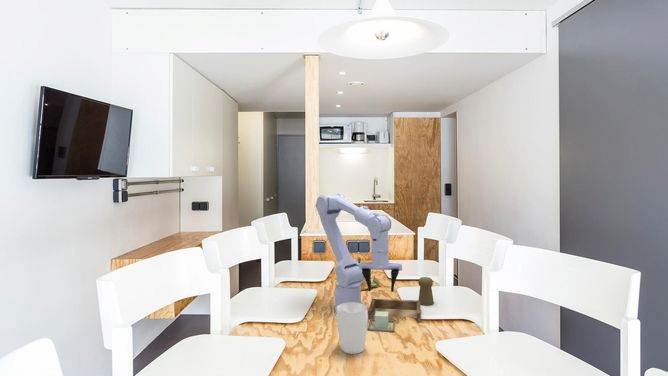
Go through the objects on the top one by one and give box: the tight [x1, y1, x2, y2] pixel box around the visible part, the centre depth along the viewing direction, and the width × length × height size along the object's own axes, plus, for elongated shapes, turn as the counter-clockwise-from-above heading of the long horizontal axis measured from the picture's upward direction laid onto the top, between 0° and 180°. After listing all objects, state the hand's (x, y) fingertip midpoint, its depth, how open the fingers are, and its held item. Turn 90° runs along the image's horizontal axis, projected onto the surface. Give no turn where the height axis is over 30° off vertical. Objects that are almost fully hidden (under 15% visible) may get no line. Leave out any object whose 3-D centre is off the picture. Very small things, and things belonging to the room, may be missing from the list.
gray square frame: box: [366, 318, 397, 333], centre depth 118 cm, size 8×8×2 cm
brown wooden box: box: [367, 298, 422, 323], centre depth 128 cm, size 17×12×4 cm
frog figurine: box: [357, 256, 382, 291], centre depth 163 cm, size 10×18×15 cm, turn 86°
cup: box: [335, 302, 369, 355], centre depth 106 cm, size 9×9×12 cm
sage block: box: [374, 311, 390, 330], centre depth 118 cm, size 4×4×5 cm
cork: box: [417, 276, 435, 307], centre depth 138 cm, size 6×6×11 cm
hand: (381, 290), depth 127 cm, fingers open, 7 cm apart
